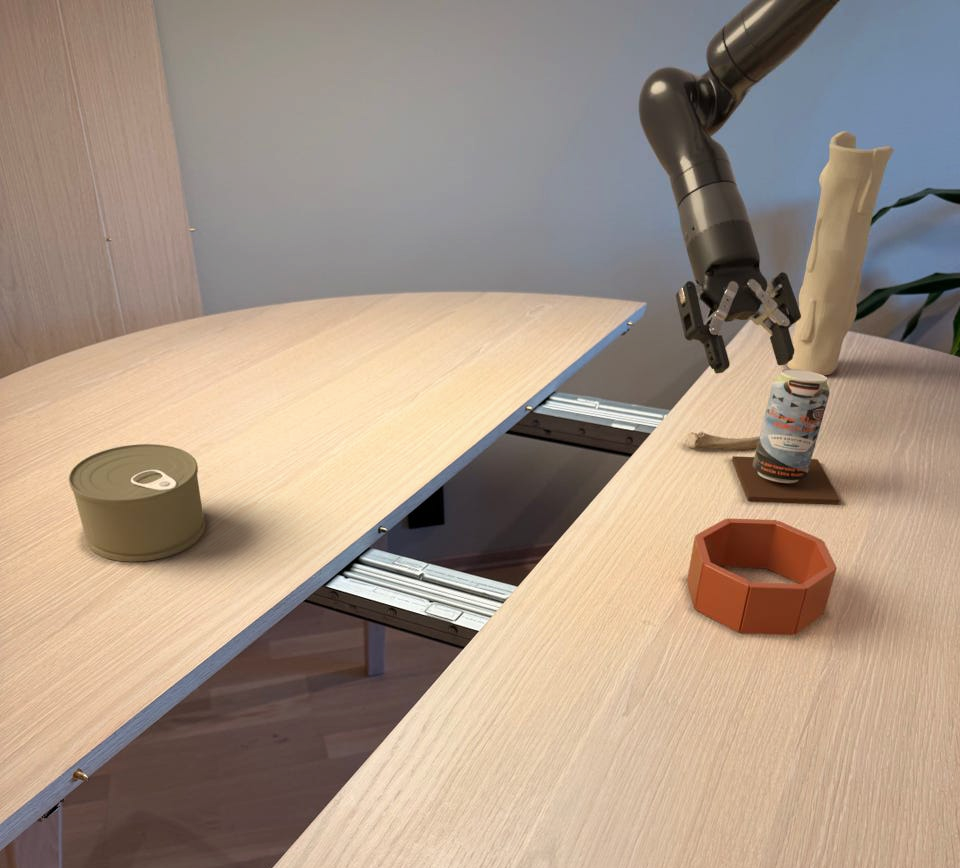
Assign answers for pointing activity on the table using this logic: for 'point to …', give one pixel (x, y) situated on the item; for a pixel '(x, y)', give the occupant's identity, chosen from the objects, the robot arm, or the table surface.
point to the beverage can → (791, 425)
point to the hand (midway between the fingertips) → (755, 366)
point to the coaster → (785, 485)
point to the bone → (720, 441)
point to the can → (138, 501)
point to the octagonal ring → (754, 601)
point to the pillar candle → (837, 252)
